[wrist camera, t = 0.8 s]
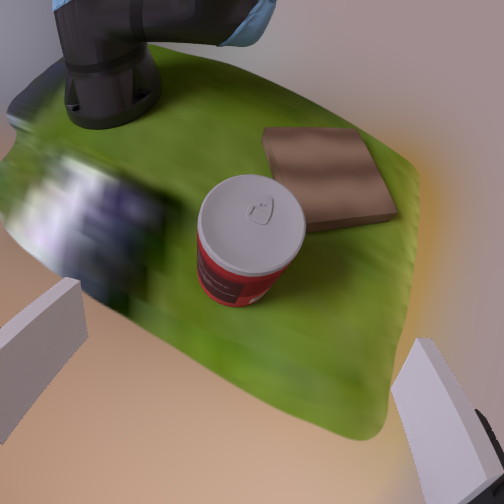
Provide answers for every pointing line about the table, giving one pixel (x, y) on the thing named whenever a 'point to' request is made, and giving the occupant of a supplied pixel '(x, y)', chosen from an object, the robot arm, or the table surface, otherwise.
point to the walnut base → (328, 176)
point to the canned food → (247, 238)
